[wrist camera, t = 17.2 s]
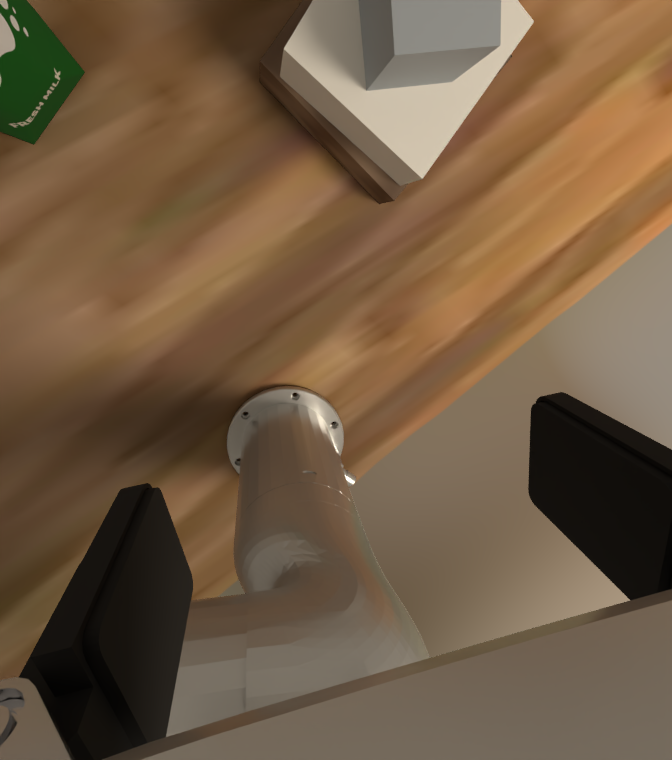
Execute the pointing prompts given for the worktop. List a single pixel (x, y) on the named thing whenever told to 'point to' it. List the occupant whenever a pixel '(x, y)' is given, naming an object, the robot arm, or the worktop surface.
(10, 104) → the milk carton
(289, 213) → the worktop surface
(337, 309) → the worktop surface
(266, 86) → the walnut base block
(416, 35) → the slate-grey cube
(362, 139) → the off-white top block
